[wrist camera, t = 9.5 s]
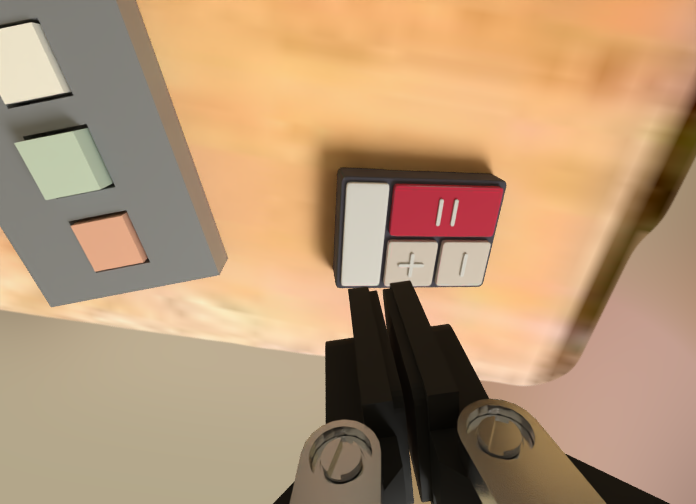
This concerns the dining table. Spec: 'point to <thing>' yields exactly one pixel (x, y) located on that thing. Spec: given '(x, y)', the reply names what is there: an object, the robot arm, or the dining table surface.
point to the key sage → (65, 163)
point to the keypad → (105, 157)
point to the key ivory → (29, 66)
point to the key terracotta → (109, 241)
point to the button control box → (414, 227)
